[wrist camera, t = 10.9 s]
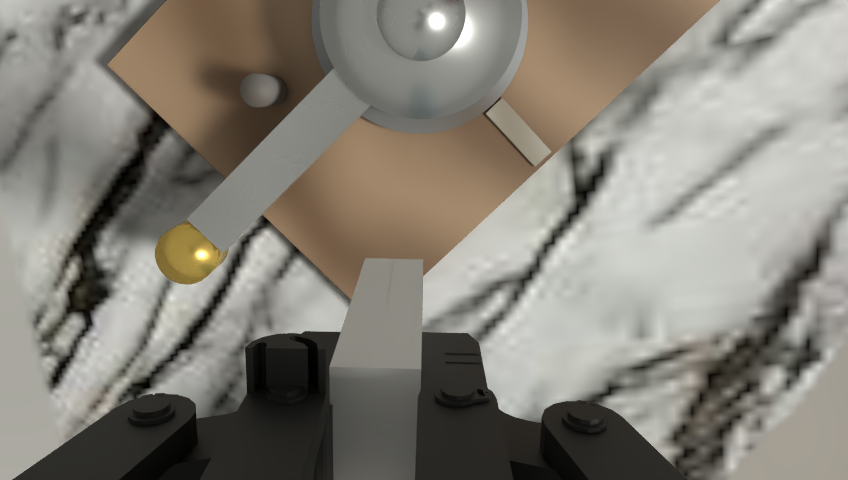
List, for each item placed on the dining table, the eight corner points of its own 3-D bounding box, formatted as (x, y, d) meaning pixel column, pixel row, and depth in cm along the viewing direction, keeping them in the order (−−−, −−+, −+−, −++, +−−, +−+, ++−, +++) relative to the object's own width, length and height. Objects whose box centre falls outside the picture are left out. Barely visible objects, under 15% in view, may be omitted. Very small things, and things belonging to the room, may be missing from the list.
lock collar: (548, 26, 26) (567, 17, 23) (249, 317, 28) (228, 346, 25) (422, -118, 25) (424, -148, 21) (120, 199, 27) (82, 214, 24)
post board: (473, -319, 25) (484, -395, 21) (721, -11, 27) (773, -27, 24) (120, 65, 28) (72, 62, 24) (375, 312, 30) (369, 346, 26)
